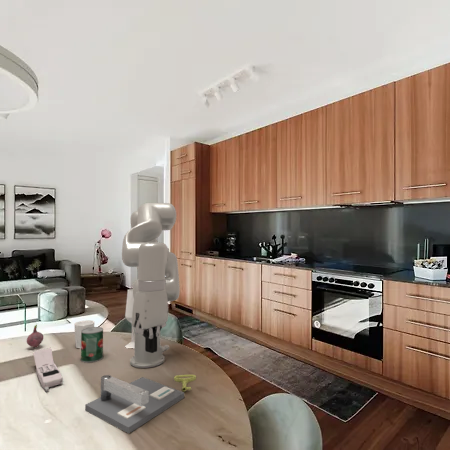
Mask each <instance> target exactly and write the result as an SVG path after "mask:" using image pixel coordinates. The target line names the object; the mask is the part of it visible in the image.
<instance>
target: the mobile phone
mask: <svg viewBox="0 0 450 450" xmlns="http://www.w3.org/2000/svg"><path fill="white" fill-rule="evenodd" d="M32 351H33V350H32ZM32 354H33V355H32V356H33V359H34V364H35V367H36V368H35V373H36V375H37V377H38V381H39V383H40V385H41V387H42V388H43V390H44V391H45V392H49V391H50V389H49V388H51V387H55V386H58V385H61V384H63V380H64V379H63V376H62V373H61V371H60V369H59V368H58V367H57V365H56V364H55V362H54V357H53V350H52V348H51V347H47V348H46V347H45V348H41V349H38V350H37V349H36V350H34V351H33V352H32Z"/></svg>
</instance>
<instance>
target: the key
mask: <svg viewBox="0 0 450 450" xmlns="http://www.w3.org/2000/svg"><path fill="white" fill-rule="evenodd" d="M196 379H197V375H195V374H180V375H179V374H178V375H175V376H174V377H173V380H174V382H177V383H181V384H182V388H181V389H182V392H184V393H185V392H186V391H191V390H192V387H191V386H187V385H188V383H191V382H194V381H196Z"/></svg>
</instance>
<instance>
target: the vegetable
mask: <svg viewBox="0 0 450 450" xmlns="http://www.w3.org/2000/svg"><path fill="white" fill-rule="evenodd" d="M37 327H38V324H35V325H34V326H33V331H32V333H29V335H28V336H27V338H26V343H27V346H30V347H31V348H33V349H35V348H38V347H39V346H40V345H41V344H42V342H43V341H44V334H43V333H42V332H40V331H37V330H38V328H37Z"/></svg>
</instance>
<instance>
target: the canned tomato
mask: <svg viewBox="0 0 450 450" xmlns="http://www.w3.org/2000/svg"><path fill="white" fill-rule="evenodd" d="M103 358H104V328H103V327H102V326H94V327H90V328H86V329H83V330H82V331H81V349H80V361H81V363H84V364H85V363H87V364H90V363H95V362H99V361H101V360H102V359H103Z"/></svg>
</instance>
